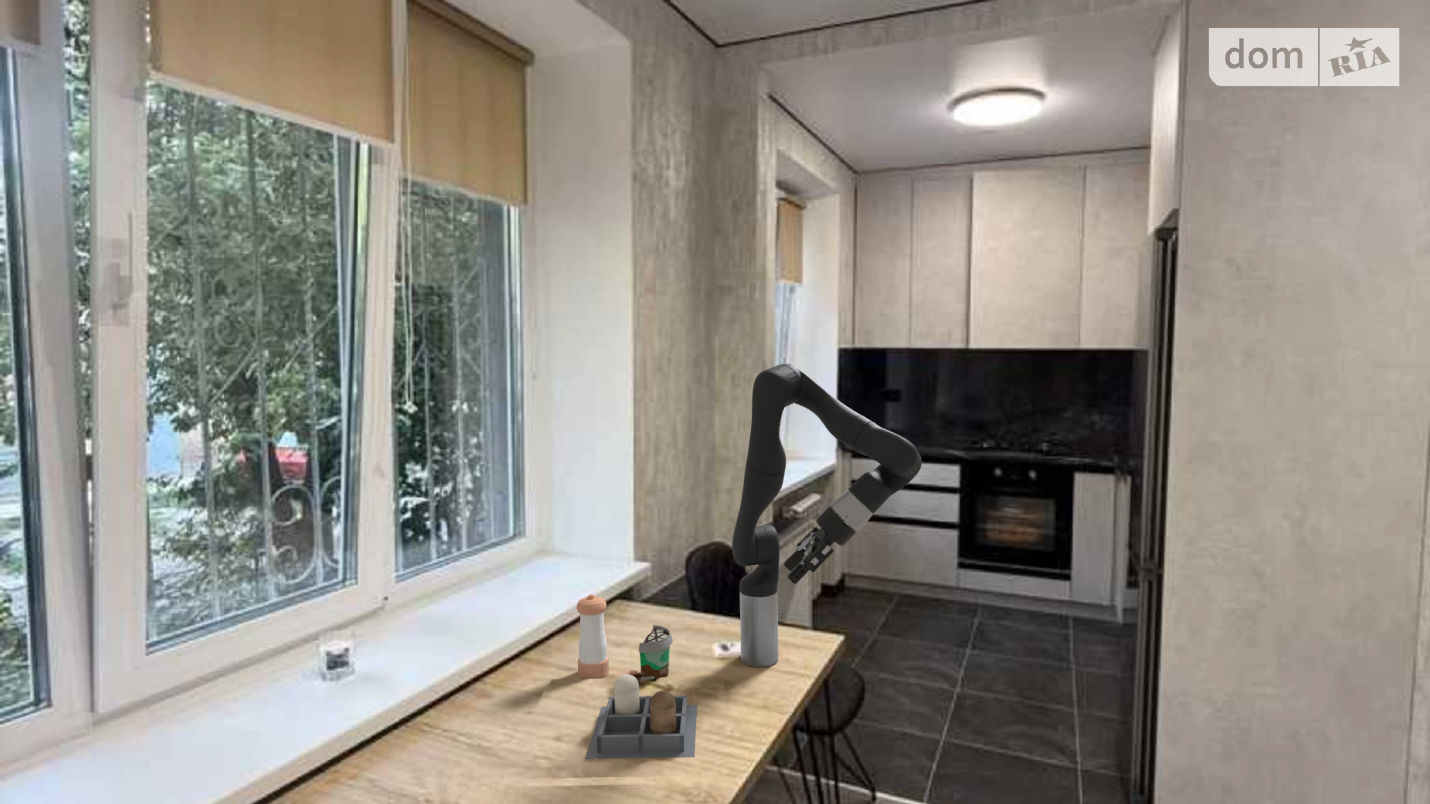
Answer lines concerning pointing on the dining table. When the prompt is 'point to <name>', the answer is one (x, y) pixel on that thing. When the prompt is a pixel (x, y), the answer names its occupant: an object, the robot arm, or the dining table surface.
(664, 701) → the brown domed cylinder
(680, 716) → the grey compartment tray
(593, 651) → the pepper shaker
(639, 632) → the dining table surface
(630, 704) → the white dome-top cylinder
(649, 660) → the food container
